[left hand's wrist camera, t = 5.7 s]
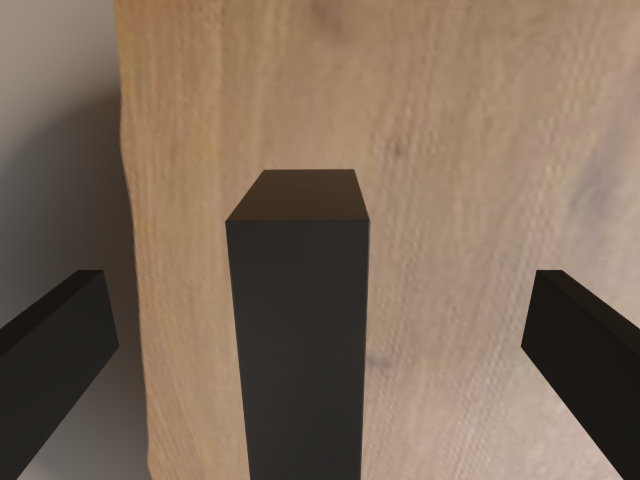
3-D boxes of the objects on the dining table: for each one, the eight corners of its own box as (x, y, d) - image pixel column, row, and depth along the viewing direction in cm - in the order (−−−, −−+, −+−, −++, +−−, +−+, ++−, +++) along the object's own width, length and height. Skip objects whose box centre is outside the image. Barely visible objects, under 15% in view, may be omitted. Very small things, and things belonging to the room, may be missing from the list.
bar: (263, 169, 22) (224, 221, 14) (354, 169, 22) (370, 220, 14) (283, 502, 31) (266, 653, 23) (347, 502, 31) (354, 655, 23)
